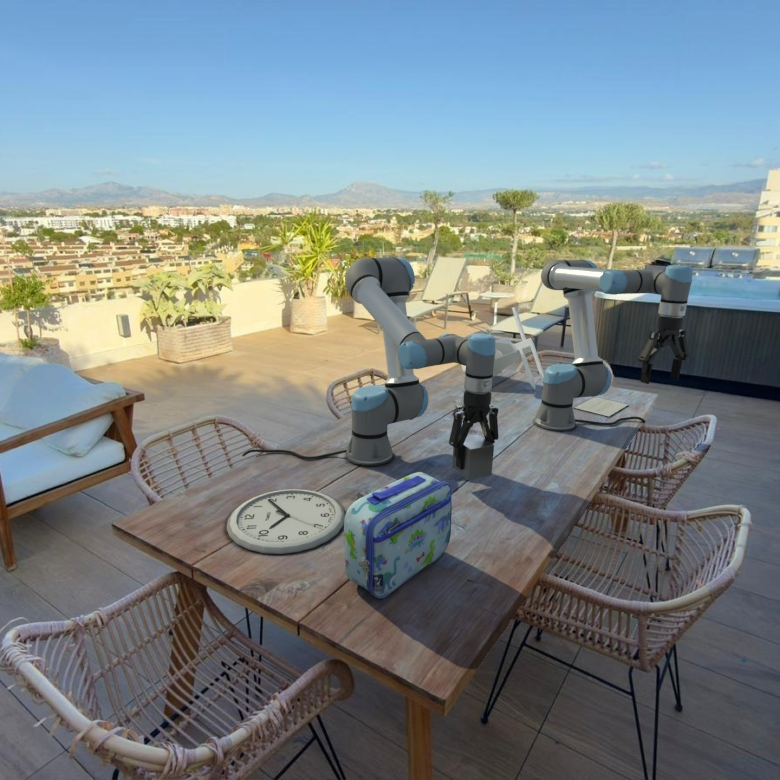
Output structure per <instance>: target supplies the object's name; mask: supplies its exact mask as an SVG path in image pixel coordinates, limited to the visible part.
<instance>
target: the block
mask: <svg viewBox="0 0 780 780" xmlns="http://www.w3.org/2000/svg"><path fill="white" fill-rule="evenodd" d="M462 447H463V448H465V449H464V463H463V469H462V470H460V469H459V468H458V467H456V457H455V456H454V454H455V453H454V452H455V448H454V447H452V448H453V449H452V464H451V468H452V469H453V470H454V471H456V473H458V474H460V475H461V476H462V477H463V478H464V479H466V480H467V481H470V480H474V479H481V478H485V477H488V476H489V477H490V476H492V473H493V463H494V460H493V459H494V450H495V444H492V443H490V442H489V441H487V440H485V437H482V436H481V435H479V434H477V433H476V434H471V435H467V437H466V439H465V442H464V444H463V446H462Z"/></svg>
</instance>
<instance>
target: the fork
mask: <svg viewBox="0 0 780 780" xmlns="http://www.w3.org/2000/svg"><path fill="white" fill-rule="evenodd" d="M459 408H464V402H463V401H462V399H459V400H458V401H457V404H456V408H455V409H454V410H453V413H454V412H455V411H456V412H458V410H459ZM453 413H452V414H453Z"/></svg>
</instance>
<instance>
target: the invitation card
mask: <svg viewBox="0 0 780 780" xmlns="http://www.w3.org/2000/svg"><path fill="white" fill-rule="evenodd" d="M628 406H629V404H627V403H623V402H618V401H614V400H609V399H605V398H601V397H598V396H594V397H592V398H590V399H588V400H586V401H584V402H582V403H580V404H578V405H575V406H574V407H573V409H575V410H581V411H584V412H587V413H593V414H596V415H600V416H604V417H608V418H609V417H611V416H613V415H614V414H616V413H617V412H619V411H621V410H623V409H624V408H626V407H628Z"/></svg>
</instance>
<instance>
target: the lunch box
mask: <svg viewBox="0 0 780 780" xmlns="http://www.w3.org/2000/svg"><path fill="white" fill-rule="evenodd" d="M452 507H453V505H452V487H451V484H450V483H449V482H448V481H445V480H438V479H436V478H434V477H432V476H431V475H429V474H427V473H424V472H422V471H417V472H414V473H411V474H409V475H407V476H404V477H401V478H399V479H397V480H395V481H393V482H391V483H388V484H386V485H385V486H383V487H380V488H379V489H376V490H374V491H372V492H370V493H368V494H366V495H364V496H362V497H359V499H356V500H355V501H353V502H352V503H351V504H350V506H349V507H348V508H347V511H346V513H345V520H344V524H343V536H344V537H343V539H344V555H345V556H344V565H345V572H346V576H347V579H348V580H349V581H351V582H353V583H354V584H357V585H359V586H360V587H362V588H363V589H365V590H366V591H368V593H369V594H370V596H373V597H374V598H376V599H385V598H387V597H388V596H390V595H391V594H392V593H393V592H394V591H396V590H397V589H398V588H399V587H400V586H402V585H403V584H405V583H407V582H408V581H409V580H410V579H412V578H414V576H416V575H417V574H418V573H419V572H420V571H421V570H423V569H424V568H426V567H427V566H429V565H431V564H433V563H435V562H436V561H437V560H439V559H440V558H441V557H442V556H443V554H445V552H446V550H447V548H448V546H449V543H450V540H451V535H452V534H451V533H452V515H453V514H452V511H453V510H452V509H453V508H452Z"/></svg>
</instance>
